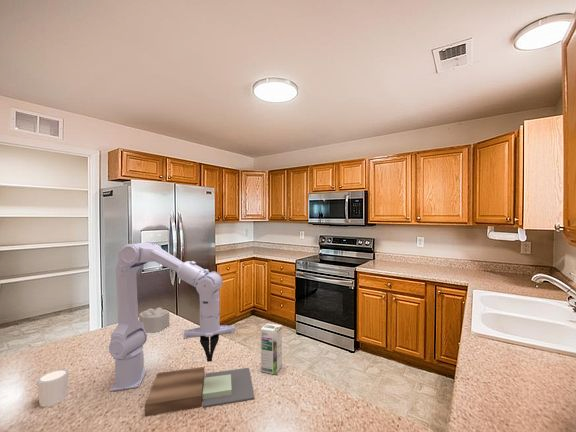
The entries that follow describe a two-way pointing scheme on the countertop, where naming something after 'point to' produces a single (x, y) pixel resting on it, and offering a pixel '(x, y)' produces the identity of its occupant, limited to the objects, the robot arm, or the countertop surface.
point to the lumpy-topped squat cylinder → (154, 319)
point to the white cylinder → (52, 387)
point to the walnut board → (175, 391)
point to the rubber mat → (233, 388)
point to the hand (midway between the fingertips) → (209, 360)
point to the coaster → (217, 386)
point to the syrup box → (271, 348)
